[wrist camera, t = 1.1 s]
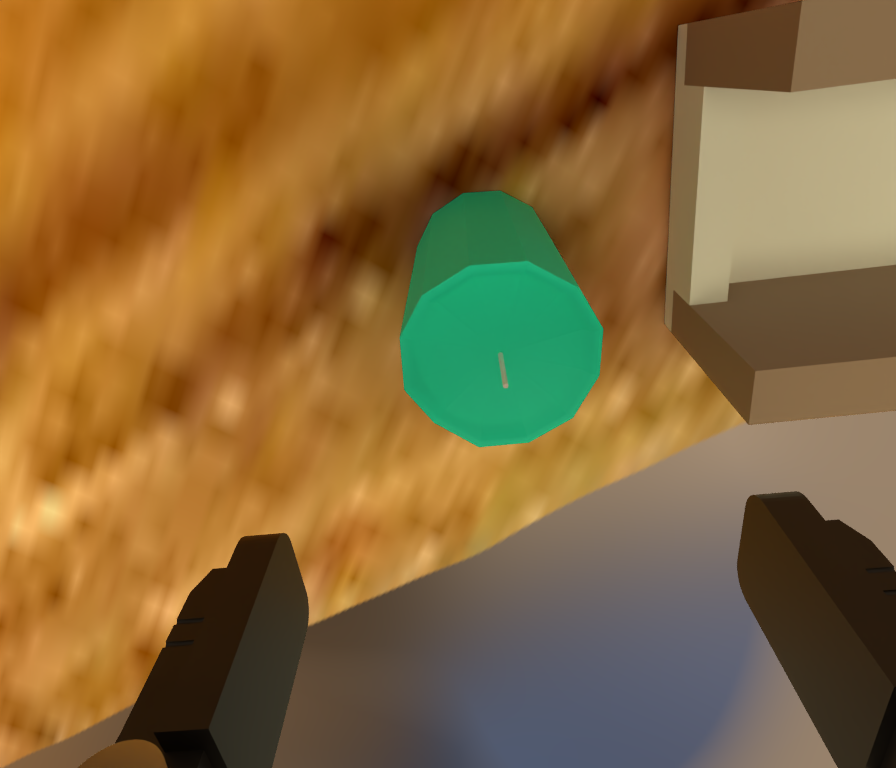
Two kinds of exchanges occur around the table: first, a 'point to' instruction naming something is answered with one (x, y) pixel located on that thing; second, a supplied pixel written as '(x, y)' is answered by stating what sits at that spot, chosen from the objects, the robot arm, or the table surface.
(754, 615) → the robot arm
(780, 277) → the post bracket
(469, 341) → the candle
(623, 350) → the table surface
